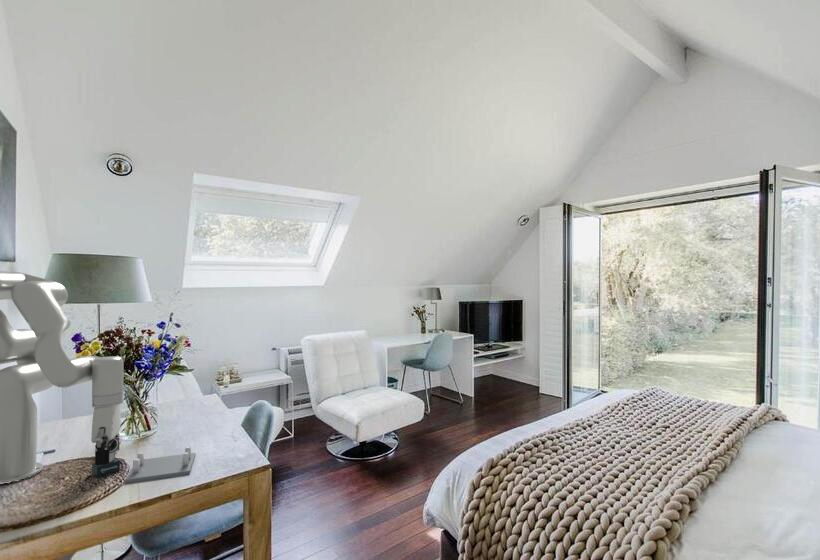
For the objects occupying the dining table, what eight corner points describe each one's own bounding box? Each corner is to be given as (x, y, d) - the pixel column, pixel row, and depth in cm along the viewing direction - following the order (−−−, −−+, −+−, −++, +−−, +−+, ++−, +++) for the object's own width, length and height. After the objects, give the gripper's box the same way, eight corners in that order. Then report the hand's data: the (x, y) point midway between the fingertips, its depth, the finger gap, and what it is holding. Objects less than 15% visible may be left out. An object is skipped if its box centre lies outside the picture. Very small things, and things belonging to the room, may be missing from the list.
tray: (124, 483, 114) (125, 467, 114) (137, 463, 127) (137, 448, 127) (189, 474, 120) (190, 458, 120) (195, 455, 133) (195, 441, 133)
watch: (99, 479, 116) (100, 440, 116) (89, 472, 121) (90, 434, 121) (122, 472, 120) (123, 435, 120) (112, 465, 125) (113, 429, 125)
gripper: (102, 393, 128) (102, 449, 127) (81, 408, 111) (80, 472, 111) (130, 391, 130) (130, 445, 130) (114, 405, 114) (114, 467, 114)
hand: (107, 457), depth 121 cm, fingers open, 9 cm apart
